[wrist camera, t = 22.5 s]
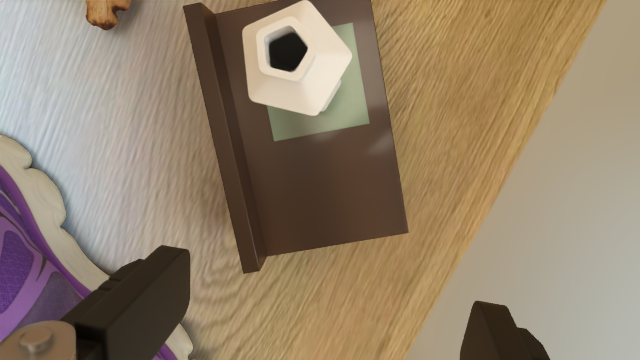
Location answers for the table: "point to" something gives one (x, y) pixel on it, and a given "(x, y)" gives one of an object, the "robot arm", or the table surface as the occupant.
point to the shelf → (300, 140)
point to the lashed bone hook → (105, 12)
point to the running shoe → (45, 253)
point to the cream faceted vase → (294, 59)
